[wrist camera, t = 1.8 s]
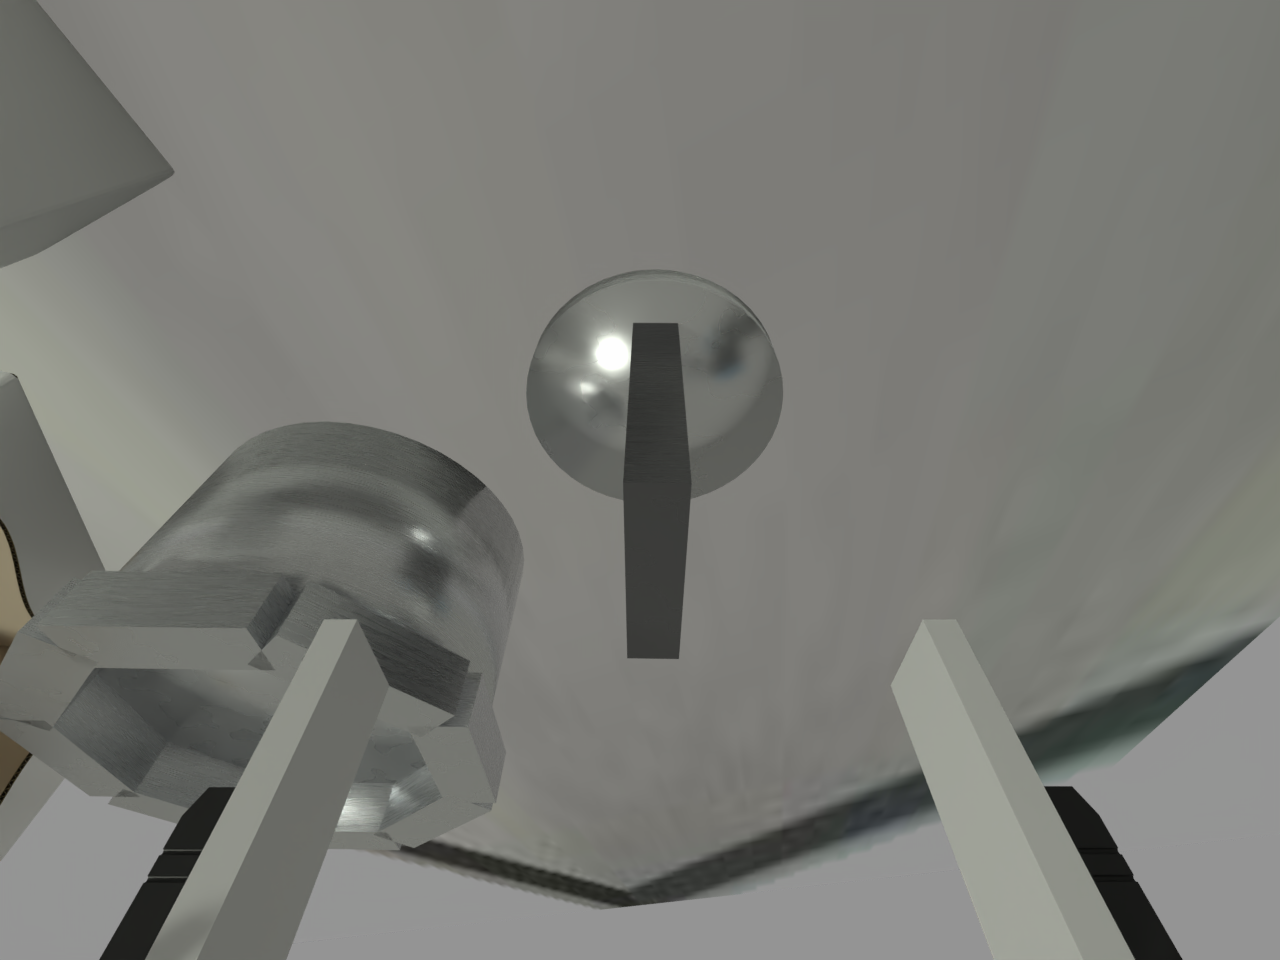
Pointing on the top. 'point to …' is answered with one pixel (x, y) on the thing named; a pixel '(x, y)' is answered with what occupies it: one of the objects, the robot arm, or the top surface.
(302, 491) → the pot
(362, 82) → the top surface
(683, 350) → the lid
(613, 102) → the top surface
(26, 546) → the gable box
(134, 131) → the milk carton
